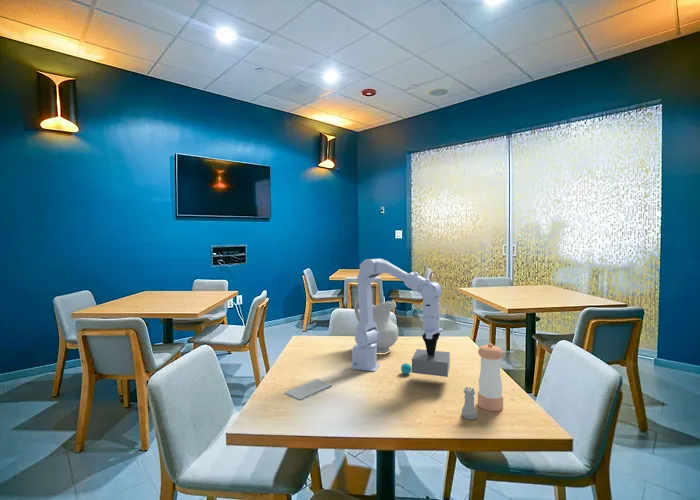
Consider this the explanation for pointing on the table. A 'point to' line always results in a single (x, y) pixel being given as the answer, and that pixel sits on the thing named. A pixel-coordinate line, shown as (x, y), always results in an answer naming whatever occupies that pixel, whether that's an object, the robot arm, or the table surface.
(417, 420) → the table surface
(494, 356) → the pepper shaker
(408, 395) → the table surface
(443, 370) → the gray square knob slab
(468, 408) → the rook chess piece
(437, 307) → the robot arm
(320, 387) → the smartphone
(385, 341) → the ceramic pitcher
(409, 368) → the ball
